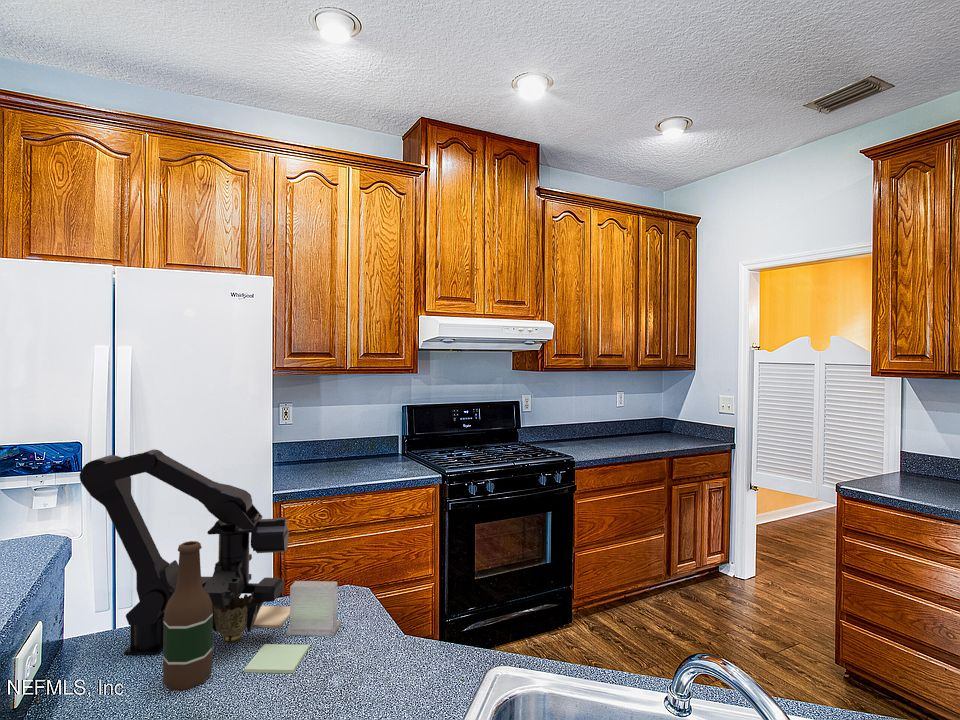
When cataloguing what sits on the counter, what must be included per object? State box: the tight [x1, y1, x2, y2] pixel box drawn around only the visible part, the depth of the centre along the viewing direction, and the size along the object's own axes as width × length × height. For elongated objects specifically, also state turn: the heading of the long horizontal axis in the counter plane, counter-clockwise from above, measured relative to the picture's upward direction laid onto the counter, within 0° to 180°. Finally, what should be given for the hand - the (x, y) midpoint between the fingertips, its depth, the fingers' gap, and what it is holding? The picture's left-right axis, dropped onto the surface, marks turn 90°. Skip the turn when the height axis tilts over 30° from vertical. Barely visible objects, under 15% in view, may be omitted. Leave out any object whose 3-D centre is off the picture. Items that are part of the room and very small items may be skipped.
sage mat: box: [243, 643, 311, 674], centre depth 104 cm, size 9×9×1 cm
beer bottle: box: [162, 540, 214, 691], centre depth 98 cm, size 8×8×24 cm
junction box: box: [285, 580, 342, 637], centre depth 116 cm, size 10×5×10 cm, turn 89°
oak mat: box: [253, 605, 290, 629], centre depth 121 cm, size 9×9×1 cm
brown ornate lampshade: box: [213, 594, 252, 644], centre depth 111 cm, size 8×7×8 cm
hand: (232, 631), depth 111 cm, fingers closed on brown ornate lampshade, 6 cm apart
